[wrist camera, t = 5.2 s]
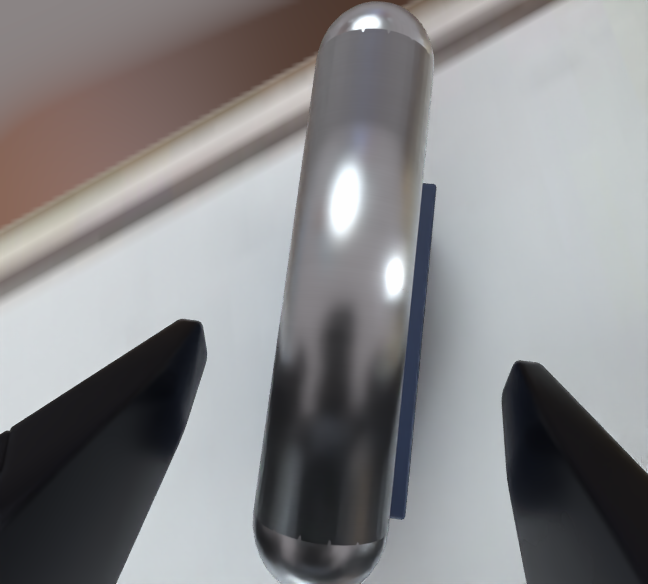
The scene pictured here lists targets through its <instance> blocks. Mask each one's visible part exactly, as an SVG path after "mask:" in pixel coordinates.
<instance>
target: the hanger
mask: <svg viewBox="0 0 648 584" xmlns="http://www.w3.org/2000/svg"><path fill="white" fill-rule="evenodd" d="M433 74H434V55H433V50H432V46H431V42H430V38H429V36H428V34H427V32H426V30H425V29H424V27H423V26H422V24H421V23H420V22H419V20H418V19H417V18H416V17H415V16H414V15H413V14H411V13H410V12H409V11H407V10H406V9H405V8H402V7H400V6H398V5H395V4H392V3H388V2H367V3H363V4H360V5H357V6H355V7H353V8H351V9H349V10H348V11H346V12H345V13H343V14H342V15H341V16H340V17H338V18H337V19H336V20H335V21H334V23H333V24H332V25H331V26H330V28H329V29H328V31H327V32H326V33H325V36H324V38H323V40H322V42H321V45H320V48H319V51H318V55H317V59H316V67H315V74H314V81H313V88H312V96H311V103H310V110H309V117H308V124H307V131H306V139H305V146H304V153H303V160H302V167H301V174H300V182H299V189H298V196H297V203H296V210H295V217H294V225H293V232H292V239H291V246H290V253H289V260H288V268H287V275H286V282H285V289H284V296H283V303H282V311H281V318H280V325H279V332H278V339H277V346H276V354H275V361H274V368H273V375H272V382H271V389H270V397H269V404H268V411H267V418H266V425H265V432H264V440H263V447H262V454H261V461H260V468H259V475H258V483H257V490H256V497H255V504H254V511H253V530H254V538H255V543H256V546H257V549H258V552H259V555H260V557H261V559H262V561H263V563H264V564H265V566H266V568H267V569H268V570H269V572H270V573H271V574H272V575H273V577H274V578H275V579H276V580H278V581H279V582H280V583H281V584H360V583H361V582H362V581H363V580H364V579H365V578H367V577H368V576H369V574H370V573H371V572H372V570H373V569H374V567H375V566H376V564H377V563H378V561H379V560H380V557H381V555H382V553H383V550H384V548H385V544H386V538H387V533H388V527H389V518H394V519H401V520H402V519H404V518H405V514H406V503H407V492H408V482H409V471H410V461H411V450H412V440H413V429H414V419H415V408H416V397H417V387H418V376H419V366H420V355H421V345H422V334H423V323H424V313H425V302H426V292H427V281H428V271H429V260H430V250H431V239H432V228H433V218H434V207H435V197H436V185H435V184H426V183H423V175H424V165H425V155H426V144H427V134H428V124H429V114H430V104H431V94H432V84H433Z"/></svg>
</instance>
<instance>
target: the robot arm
mask: <svg viewBox="0 0 648 584" xmlns="http://www.w3.org/2000/svg"><path fill="white" fill-rule="evenodd" d="M206 360H207V348H206V342H205V336H204V330H203V325H202V323H201V322H199V321H196V320H188V319H180V320H177V321H176V322H174V323H173V324H171V325H169V326H168V327H166V328H165V329H163V330H162V331H160V332H159V333H157V334H155V335H154V336H152V337H151V338H149V339H148V340H146V341H145V342H143V343H141V344H140V345H138V346H137V347H135V348H134V349H132V350H131V351H129V352H128V353H126V354H124V355H123V356H121V357H120V358H118V359H117V360H115V361H114V362H112V363H110V364H109V365H107V366H106V367H104V368H103V369H101V370H100V371H98V372H97V373H95V374H93V375H92V376H90V377H89V378H87V379H86V380H84V381H83V382H81V383H79V384H78V385H76V386H75V387H73V388H72V389H70V390H69V391H67V392H66V393H64V394H62V395H61V396H59V397H58V398H56V399H55V400H53V401H52V402H50V403H48V404H47V405H45V406H44V407H42V408H41V409H39V410H38V411H36V412H34V413H33V414H31V415H30V416H28V417H27V418H25V419H24V420H22V421H21V422H19V423H17V424H16V425H14V426H13V427H12V428H11V429H10V431H5V432H3V433H2V434H0V584H116V583H117V581H118V578H119V576H120V574H121V572H122V569H123V567H124V565H125V563H126V560H127V558H128V556H129V554H130V552H131V549H132V547H133V545H134V543H135V540H136V538H137V536H138V534H139V531H140V529H141V527H142V525H143V523H144V520H145V518H146V516H147V514H148V511H149V509H150V507H151V505H152V502H153V500H154V498H155V496H156V494H157V491H158V489H159V487H160V485H161V482H162V480H163V478H164V476H165V474H166V471H167V469H168V467H169V465H170V462H171V460H172V458H173V456H174V453H175V451H176V449H177V447H178V445H179V442H180V440H181V437H182V435H183V433H184V430H185V427H186V424H187V421H188V418H189V415H190V412H191V409H192V405H193V402H194V399H195V396H196V393H197V390H198V386H199V383H200V380H201V377H202V374H203V371H204V367H205V364H206ZM502 415H503V429H504V444H505V458H506V471H507V481H508V487H509V493H510V499H511V504H512V509H513V514H514V520H515V525H516V530H517V535H518V541H519V546H520V551H521V556H522V562H523V567H524V572H525V577H526V583H527V584H648V474H647V473H646V472H645V471H644V470H643V469H642V468H641V467H640V466H639V465H638V464H637V462H636V461H635V460H634V459H633V458H632V457H631V456H630V455H629V454H628V453H627V452H626V451H625V450H624V449H623V448H622V447H621V446H620V445H619V444H618V443H617V442H616V441H615V440H614V439H613V438H612V437H611V436H610V435H609V434H608V433H607V431H606V430H605V429H604V428H603V427H602V426H601V425H600V424H599V423H598V422H597V421H596V420H595V419H594V418H593V417H592V416H591V415H590V414H589V413H588V412H587V411H586V410H585V409H584V408H583V407H582V406H581V405H580V404H579V403H578V402H577V401H576V399H575V398H574V397H573V396H572V395H571V394H570V393H569V392H568V391H567V390H566V389H565V388H564V387H563V386H562V385H561V384H560V383H559V382H558V381H557V380H556V379H555V378H554V377H553V376H552V375H551V374H550V373H549V372H548V371H547V370H546V369H545V367H544V366H542V365H541V364H540V363H537V362H529V361H521V360H519V361H516V362H515V363H514V364H513V366H512V369H511V371H510V374H509V376H508V379H507V382H506V384H505V387H504V389H503V393H502Z"/></svg>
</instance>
